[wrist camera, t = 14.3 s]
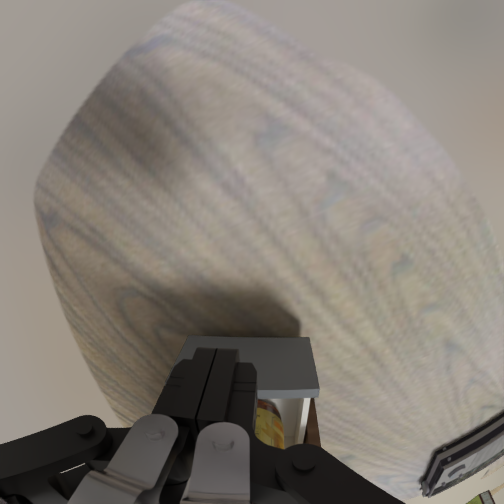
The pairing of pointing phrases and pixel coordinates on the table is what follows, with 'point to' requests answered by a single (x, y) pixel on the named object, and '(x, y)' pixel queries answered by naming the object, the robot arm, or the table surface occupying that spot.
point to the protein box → (482, 499)
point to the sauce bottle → (269, 425)
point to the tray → (273, 374)
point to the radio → (465, 457)
